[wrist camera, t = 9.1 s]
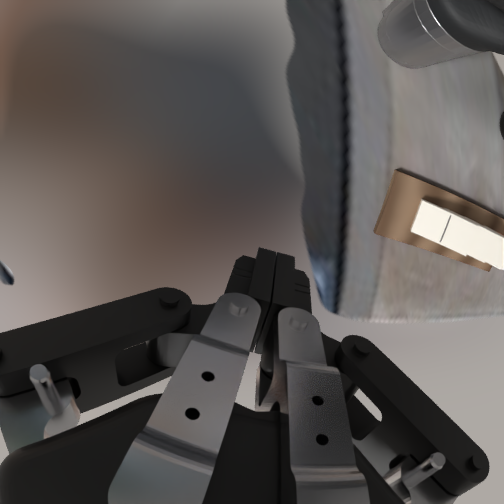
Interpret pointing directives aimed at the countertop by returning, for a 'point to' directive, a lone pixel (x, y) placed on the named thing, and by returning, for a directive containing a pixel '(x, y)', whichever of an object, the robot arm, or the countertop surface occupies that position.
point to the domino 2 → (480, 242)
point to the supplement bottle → (502, 125)
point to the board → (405, 208)
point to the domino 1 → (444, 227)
